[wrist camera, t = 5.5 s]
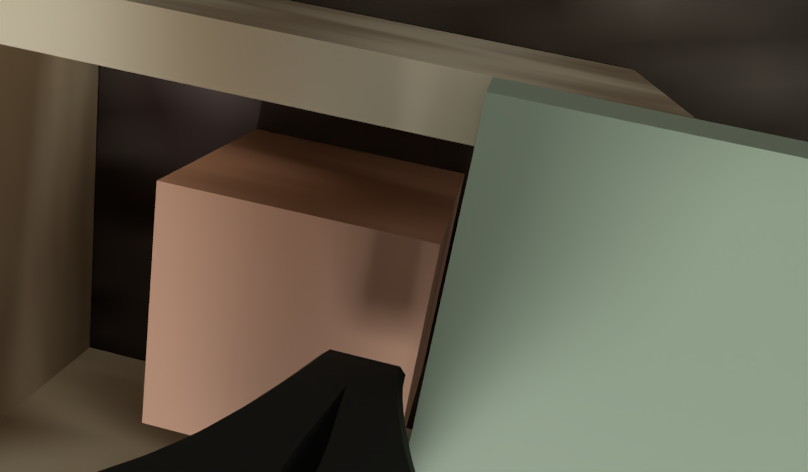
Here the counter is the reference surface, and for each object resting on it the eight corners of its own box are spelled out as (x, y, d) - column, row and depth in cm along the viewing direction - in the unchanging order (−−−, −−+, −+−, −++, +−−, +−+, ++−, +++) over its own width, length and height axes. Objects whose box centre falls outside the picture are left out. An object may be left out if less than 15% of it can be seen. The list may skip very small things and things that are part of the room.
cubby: (38, 365, 20) (-149, 509, 15) (40, -50, 16) (-212, -70, 11) (513, 488, 19) (506, 697, 13) (634, 70, 15) (694, 117, 10)
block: (237, 315, 19) (141, 422, 14) (258, 128, 17) (156, 180, 12) (424, 360, 18) (389, 486, 14) (464, 173, 17) (440, 244, 12)
